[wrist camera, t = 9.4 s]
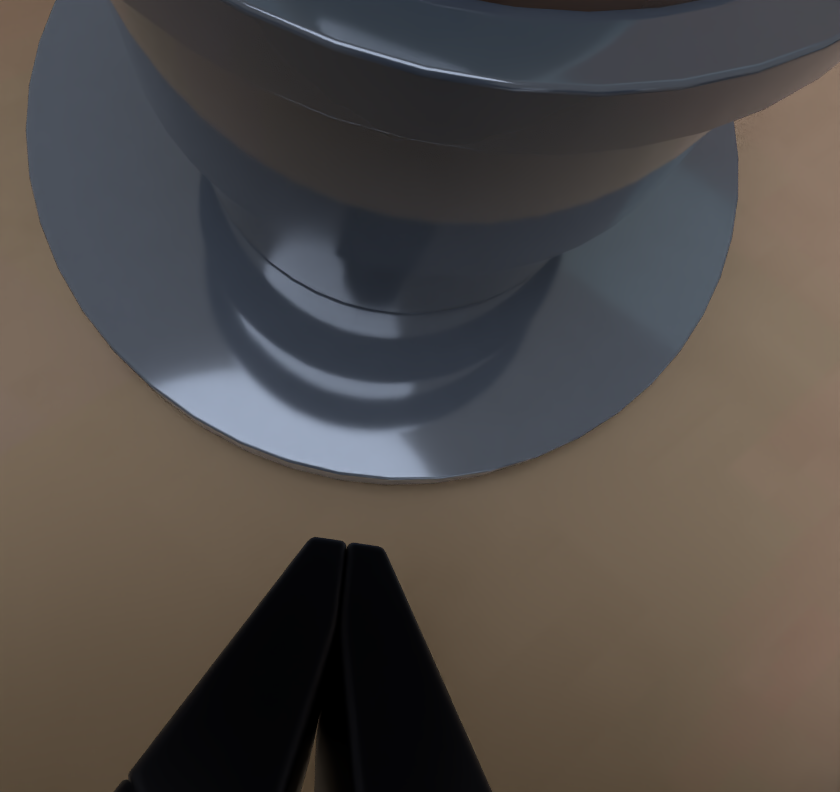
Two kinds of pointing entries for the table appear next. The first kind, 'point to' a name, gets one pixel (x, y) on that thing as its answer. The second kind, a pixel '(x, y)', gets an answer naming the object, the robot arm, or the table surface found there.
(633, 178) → the plant pot
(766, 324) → the table surface
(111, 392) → the table surface
